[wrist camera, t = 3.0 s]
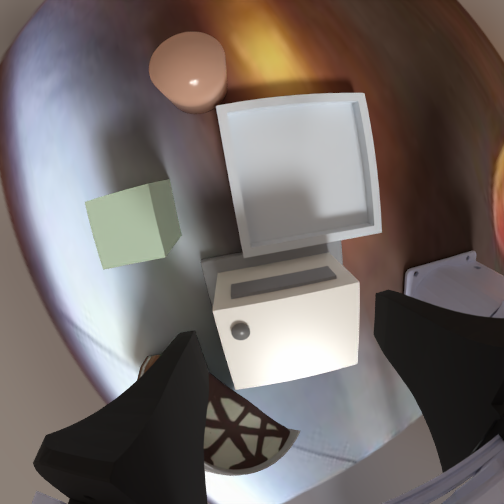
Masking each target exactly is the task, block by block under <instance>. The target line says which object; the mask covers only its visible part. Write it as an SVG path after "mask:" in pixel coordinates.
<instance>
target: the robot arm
mask: <svg viewBox="0 0 504 504" xmlns="http://www.w3.org/2000/svg"><path fill="white" fill-rule="evenodd" d="M466 257H467V258H466ZM415 272H416V274H415V275H414V273H415ZM374 336H375V338H376V340H377V342H378V344H379V346H380V348H381V350H382V351H383V353H384V355H385V356H386V357H387V359H388V360H389V362H390V363H391V364H392V366H393V367H394V368H395V370H396V371H397V373H398V374H399V375H400V377H401V378H402V380H403V381H404V382H405V384H406V385H407V387H408V388H409V389H410V391H411V393H412V394H413V396H414V398H415V400H416V402H417V404H418V406H419V408H420V409H421V411H422V414H423V416H424V418H425V420H426V423H427V425H428V427H429V429H430V432H431V434H432V437H433V440H434V443H435V446H436V449H437V452H438V455H439V459H440V463H441V466H442V471H443V473H442V474H441V475H439V476H437V477H436V478H434V479H432V480H430V481H428V482H426V483H424V484H422V485H420V486H418V487H416V488H414V489H412V490H410V491H408V492H406V493H404V494H402V495H400V496H397V497H395V498H393V499H390V500H388V501H386V502H383V503H381V504H429V503H431V502H433V501H435V500H436V499H438V498H440V497H441V496H443V495H445V494H446V493H448V492H450V491H451V490H453V489H454V488H456V487H457V486H459V485H461V484H462V483H464V482H465V481H466V480H468V479H469V478H470V477H472V476H473V477H472V478H471V479H470V480H469V481H467V482H466V483H465V484H464V485H462V486H461V487H459V488H458V489H457V490H456V491H455V492H454V493H453V494H452V495H451V496H450V497H449V498H448V499H447V500H446V501H444V502H443V503H442V504H504V276H503V275H501V274H499V273H497V272H496V271H494V270H492V269H490V268H488V267H486V266H484V265H482V264H481V263H479V262H477V261H476V252H475V251H469V252H466V253H462V254H459V255H456V256H452V257H449V258H446V259H442V260H439V261H435V262H432V263H428V264H424V265H421V266H417V267H413V268H410V269H408V270H407V271H406V273H405V287H404V294H402V293H399V292H395V291H391V290H386V291H383V292H379V293H376V301H375V323H374ZM208 397H209V370H208V367H207V364H206V362H205V359H204V356H203V353H202V350H201V347H200V344H199V341H198V338H197V335H196V332H195V331H190V332H182V333H179V334H178V335H177V337H176V338H175V339H174V340H173V341H172V342H171V344H170V345H169V346H168V347H167V348H166V350H165V351H164V352H163V353H162V354H161V355H160V357H159V358H158V359H157V360H156V361H155V362H154V364H153V365H152V366H151V367H150V368H149V369H148V370H147V371H146V372H145V373H144V374H143V375H142V376H141V377H140V378H139V379H138V380H137V381H136V382H135V383H134V384H133V385H132V386H131V387H130V388H128V389H127V390H126V391H125V392H124V393H122V394H121V395H120V396H119V397H117V398H116V399H115V400H113V401H112V402H110V403H109V404H107V405H106V406H105V407H103V408H102V409H100V410H99V411H97V412H96V413H94V414H92V415H90V416H89V417H87V418H85V419H83V420H81V421H79V422H77V423H75V424H73V425H71V426H69V427H66V428H64V429H61V430H59V431H56V432H53V433H51V434H48V435H46V436H45V438H44V440H43V442H42V445H41V447H40V449H39V451H38V453H37V456H36V458H35V460H34V462H33V464H34V467H35V469H36V471H37V472H38V473H39V474H40V475H41V476H42V477H43V478H44V479H45V480H46V481H48V482H49V483H50V484H51V485H53V486H54V487H55V488H57V489H58V490H59V491H60V492H62V493H63V494H64V495H66V496H67V497H69V498H70V499H69V503H68V504H207V495H206V484H205V469H204V434H205V425H206V416H207V407H208ZM32 504H66V503H64V502H62V501H60V500H58V499H55V498H53V497H50V496H48V495H46V494H43V493H41V492H39V491H37V492H36V493H35V496H34V499H33V501H32Z"/></svg>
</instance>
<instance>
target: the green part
mask: <svg viewBox="0 0 504 504" xmlns="http://www.w3.org/2000/svg"><path fill="white" fill-rule="evenodd" d="M85 205H86V209H87V213H88V218H89V222H90V225H91V229H92V233H93V237H94V240H95V244H96V247H97V251H98V254H99V257H100V261H101V264H102V267H103V270H104V269H109V268H114V267H119V266H124V265H129V264H134V263H139V262H144V261H150V260H155V259H160V258H165V257H166V256H167V255H168V253H169V252H170V251H171V249H172V248H173V246H174V245H175V244H176V242H177V241H178V240H179V238H180V237H181V235H182V234H181V230H180V225H179V221H178V217H177V212H176V207H175V203H174V198H173V193H172V188H171V184H170V179H168V180H163V181H158V182H153V183H148V184H144V185H141V186H137V187H133V188H130V189H126V190H123V191H119V192H116V193H112V194H109V195H106V196H103V197H99V198H96V199H93V200H90V201H87V202H85Z"/></svg>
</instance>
